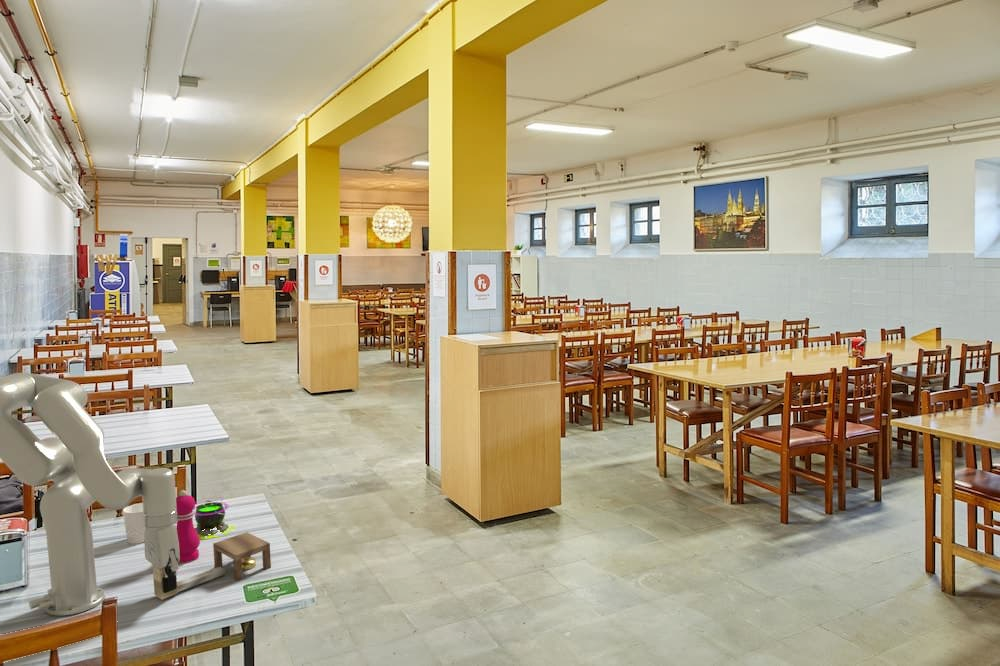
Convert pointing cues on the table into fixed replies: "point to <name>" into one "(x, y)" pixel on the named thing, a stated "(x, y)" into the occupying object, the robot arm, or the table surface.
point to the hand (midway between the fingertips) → (165, 587)
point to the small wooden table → (241, 551)
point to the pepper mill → (186, 528)
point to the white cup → (134, 523)
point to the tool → (184, 583)
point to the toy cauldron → (210, 519)
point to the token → (248, 563)
